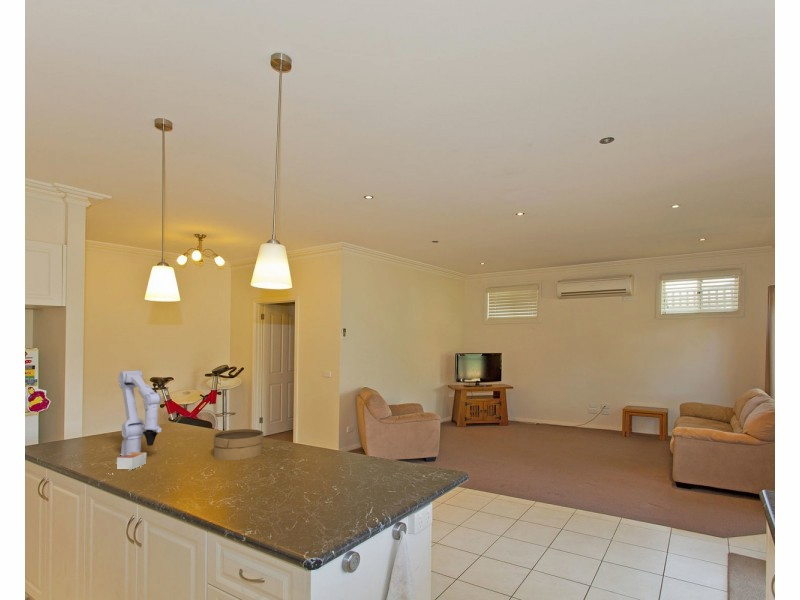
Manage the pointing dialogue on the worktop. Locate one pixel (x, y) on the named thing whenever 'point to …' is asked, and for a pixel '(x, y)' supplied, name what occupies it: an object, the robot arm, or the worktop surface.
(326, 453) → the worktop surface
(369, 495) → the worktop surface
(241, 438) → the steamer basket
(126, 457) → the small box
